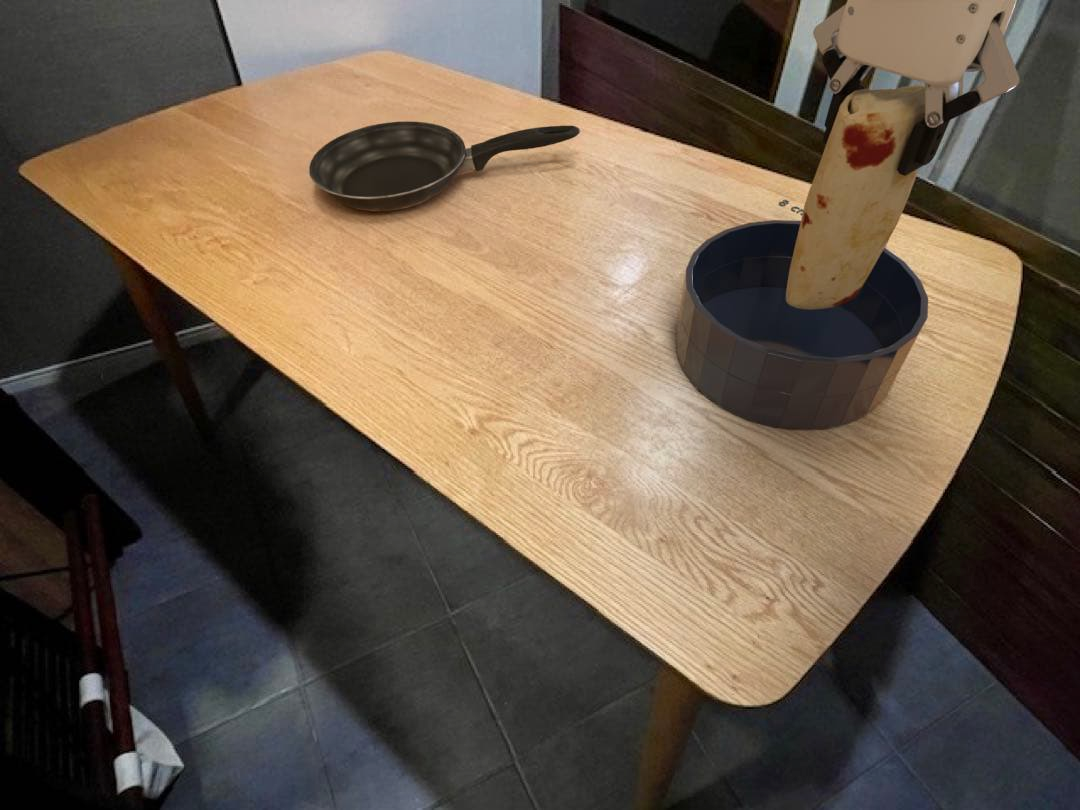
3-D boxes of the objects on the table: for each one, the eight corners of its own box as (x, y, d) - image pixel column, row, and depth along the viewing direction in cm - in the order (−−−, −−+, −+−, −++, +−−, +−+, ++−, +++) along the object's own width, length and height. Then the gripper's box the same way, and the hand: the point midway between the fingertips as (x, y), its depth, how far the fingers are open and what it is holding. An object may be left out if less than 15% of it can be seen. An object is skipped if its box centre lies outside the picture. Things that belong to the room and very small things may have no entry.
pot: (936, 360, 73) (976, 290, 66) (799, 468, 64) (828, 401, 57) (766, 265, 87) (784, 198, 79) (633, 342, 78) (639, 275, 70)
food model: (805, 331, 60) (879, 119, 46) (760, 293, 64) (813, 87, 50) (884, 300, 63) (978, 89, 48) (835, 265, 67) (908, 61, 52)
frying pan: (306, 232, 98) (291, 191, 93) (329, 154, 114) (318, 116, 109) (590, 209, 98) (590, 167, 93) (572, 135, 115) (571, 97, 110)
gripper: (1156, -120, 36) (1001, 177, 49) (881, -148, 46) (813, 107, 59) (1094, -97, 33) (947, 212, 46) (814, -132, 43) (758, 133, 56)
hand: (872, 151), depth 53 cm, fingers closed on food model, 6 cm apart
